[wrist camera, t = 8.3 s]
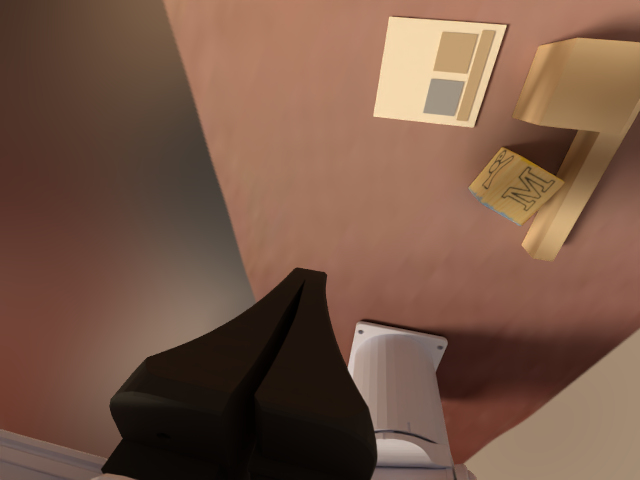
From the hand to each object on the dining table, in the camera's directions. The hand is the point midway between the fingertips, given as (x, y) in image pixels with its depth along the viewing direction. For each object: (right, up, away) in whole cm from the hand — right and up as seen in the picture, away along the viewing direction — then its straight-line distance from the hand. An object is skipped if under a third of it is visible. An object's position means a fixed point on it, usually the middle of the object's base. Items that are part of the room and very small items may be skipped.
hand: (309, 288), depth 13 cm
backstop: (+16, +7, +5) cm, 18 cm away
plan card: (+7, +12, +4) cm, 14 cm away
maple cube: (+14, +11, +3) cm, 17 cm away
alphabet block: (+12, +6, +7) cm, 15 cm away
